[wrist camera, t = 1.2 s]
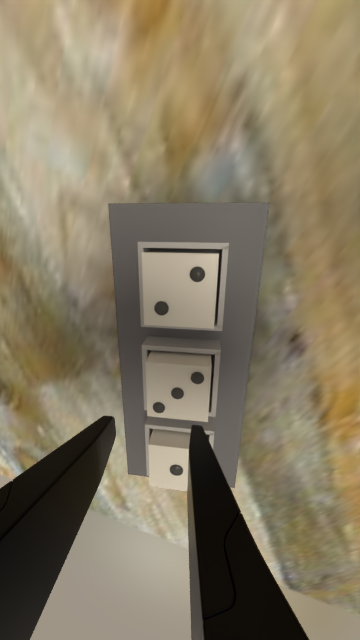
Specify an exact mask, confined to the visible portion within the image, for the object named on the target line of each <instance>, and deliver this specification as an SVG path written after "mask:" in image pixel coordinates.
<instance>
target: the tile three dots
mask: <svg viewBox="0 0 360 640" xmlns="http://www.w3.org/2000/svg"><path fill="white" fill-rule="evenodd" d="M145 365H146V394H147V416H151V417H161V418H171V419H181V420H192V421H202V422H208V414H209V398H210V383H211V368H212V365H211V355H207V354H192V353H177V352H162V351H151V353H150V355H149V356H148V358H147V360H146V362H145Z"/></svg>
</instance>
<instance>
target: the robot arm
mask: <svg viewBox="0 0 360 640" xmlns="http://www.w3.org/2000/svg"><path fill="white" fill-rule="evenodd" d="M115 437H116V429H115V419H114V417H112V416H103V417H101V418H100V419H98V420H97V421H95V422H94V423H93V424H91V425H90V426H88V427H87V428H85V429H84V430H83V431H81V432H80V433H78V434H77V435H76V436H74V437H73V438H71V439H70V440H68V441H67V442H66V443H64V444H63V445H61V446H60V447H58V448H57V449H56V450H54V451H53V452H51V453H50V454H49V455H47V456H46V457H44V458H43V459H41V460H40V461H39V462H37V463H36V464H34V465H33V466H32V467H30V468H29V469H27V470H26V471H24V472H23V473H22V474H20V475H19V476H17V477H16V478H15V479H13V482H12V481H11V482H9V483H7V484H6V485H5V486H3V487H2V488H0V640H30V638H31V636H32V634H33V631H34V629H35V626H36V625H37V622H38V620H39V618H40V616H41V613H42V611H43V609H44V607H45V604H46V602H47V600H48V598H49V595H50V593H51V591H52V589H53V587H54V584H55V582H56V580H57V578H58V575H59V573H60V571H61V569H62V567H63V564H64V562H65V560H66V558H67V555H68V553H69V551H70V549H71V546H72V544H73V542H74V540H75V537H76V535H77V533H78V531H79V529H80V526H81V524H82V522H83V520H84V517H85V515H86V513H87V511H88V509H89V506H90V504H91V502H92V500H93V497H94V495H95V493H96V491H97V488H98V486H99V484H100V481H101V479H102V476H103V473H104V470H105V467H106V464H107V461H108V458H109V455H110V452H111V450H112V447H113V444H114V441H115ZM187 504H188V538H189V569H190V604H191V638H192V640H309V638H308V637H307V635H306V633H305V632H304V630H303V628H302V626H301V624H300V623H299V621H298V619H297V617H296V616H295V614H294V612H293V611H292V608H291V607H290V605H289V603H288V601H287V600H286V598H285V596H284V594H283V593H282V591H281V589H280V587H279V586H278V584H277V582H276V580H275V578H274V577H273V575H272V573H271V571H270V569H269V568H268V566H267V564H266V562H265V560H264V558H263V557H262V555H261V553H260V551H259V549H258V547H257V545H256V543H255V541H254V539H253V537H252V535H251V533H250V530H249V528H248V526H247V524H246V522H245V520H244V517H243V515H242V514H241V511H240V509H239V506H238V504H237V502H236V500H235V498H234V495H233V493H232V491H231V489H230V486H229V484H228V482H227V480H226V478H225V475H224V473H223V471H222V469H221V466H220V464H219V462H218V460H217V457H216V455H215V453H214V451H213V449H212V446H211V444H210V442H209V440H208V437H207V435H206V433H205V431H204V429H203V427H202V426H201V425H192V426H191V433H190V442H189V457H188V486H187Z"/></svg>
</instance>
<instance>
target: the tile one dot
mask: <svg viewBox="0 0 360 640" xmlns="http://www.w3.org/2000/svg"><path fill="white" fill-rule="evenodd" d="M189 442H190V433H189V432H179V431H170V430H160V429H153V431H152V434H151V437H150V440H149V444H148V451H149V480H150V486H151V487H158V488H166V489H173V490H181V491H187V486H188V457H189Z"/></svg>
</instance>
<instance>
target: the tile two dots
mask: <svg viewBox="0 0 360 640" xmlns="http://www.w3.org/2000/svg"><path fill="white" fill-rule="evenodd" d="M218 260H219V254H218V253H172V252H142V279H143V308H144V325H156V326H175V327H193V328H212V329H214V322H215V306H216V291H217V276H218Z"/></svg>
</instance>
